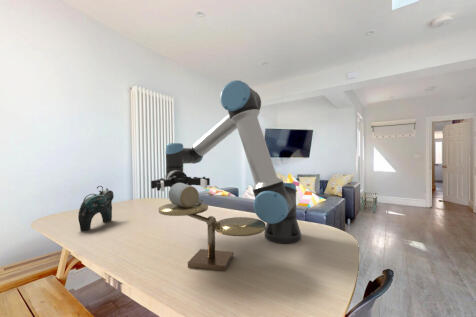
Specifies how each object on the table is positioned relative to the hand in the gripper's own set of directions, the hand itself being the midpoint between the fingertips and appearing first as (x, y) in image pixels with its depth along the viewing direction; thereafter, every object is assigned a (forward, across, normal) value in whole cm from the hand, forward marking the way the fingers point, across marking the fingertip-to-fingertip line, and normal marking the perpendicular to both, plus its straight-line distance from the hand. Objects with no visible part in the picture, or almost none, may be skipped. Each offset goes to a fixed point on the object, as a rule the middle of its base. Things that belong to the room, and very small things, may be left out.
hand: (185, 185), depth 70 cm
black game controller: (-60, +35, -25) cm, 74 cm away
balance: (+2, -8, -25) cm, 26 cm away
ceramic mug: (-4, -1, -8) cm, 9 cm away
